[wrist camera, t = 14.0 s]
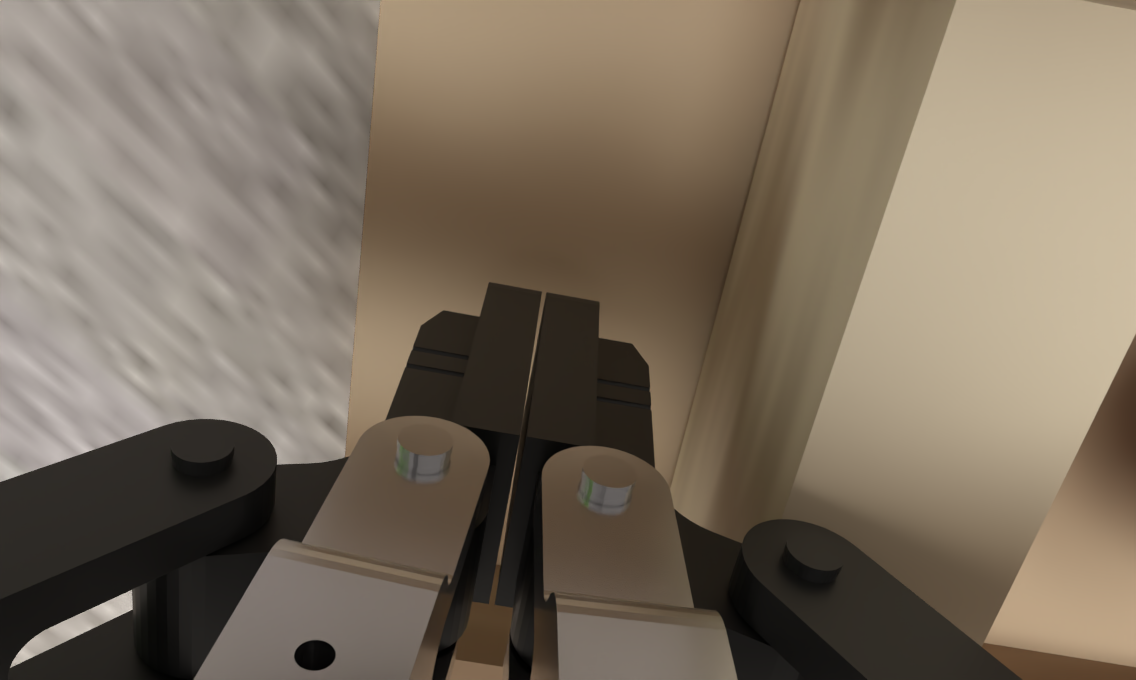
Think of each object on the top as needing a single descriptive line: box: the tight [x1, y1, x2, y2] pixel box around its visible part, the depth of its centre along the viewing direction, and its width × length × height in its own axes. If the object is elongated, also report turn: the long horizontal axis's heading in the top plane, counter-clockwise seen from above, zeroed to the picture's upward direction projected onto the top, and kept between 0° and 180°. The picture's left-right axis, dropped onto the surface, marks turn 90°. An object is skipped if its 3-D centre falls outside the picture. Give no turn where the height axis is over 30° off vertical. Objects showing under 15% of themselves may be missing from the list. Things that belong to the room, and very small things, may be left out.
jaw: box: [670, 0, 1136, 647], centre depth 13 cm, size 12×2×6 cm, turn 170°
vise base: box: [345, 0, 1136, 680], centre depth 14 cm, size 14×22×7 cm, turn 80°
